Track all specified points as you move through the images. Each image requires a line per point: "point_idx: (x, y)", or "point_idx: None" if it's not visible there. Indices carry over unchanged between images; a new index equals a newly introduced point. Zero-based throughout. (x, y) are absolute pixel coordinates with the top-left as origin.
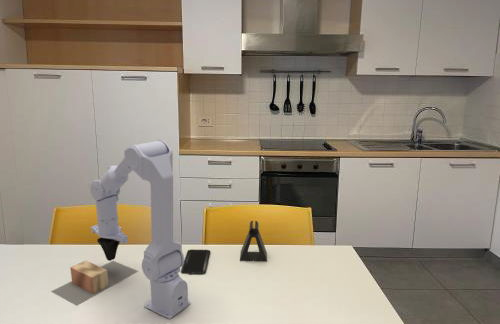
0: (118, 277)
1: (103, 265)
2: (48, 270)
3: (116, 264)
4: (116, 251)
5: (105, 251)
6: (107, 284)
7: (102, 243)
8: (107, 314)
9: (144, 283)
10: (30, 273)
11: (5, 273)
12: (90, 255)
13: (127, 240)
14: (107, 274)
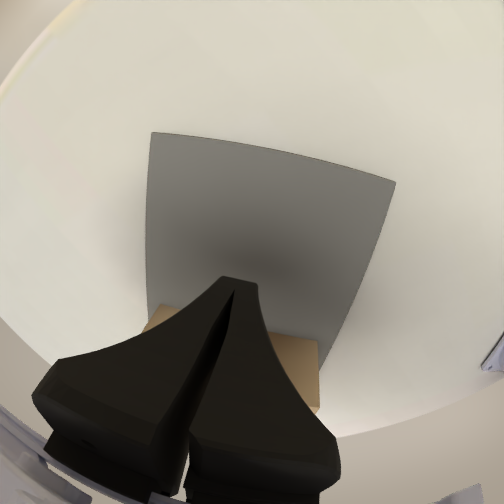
0: (321, 277)
1: (146, 203)
2: (40, 300)
3: (204, 160)
4: (260, 314)
5: (204, 392)
6: (316, 349)
7: (181, 478)
8: (393, 415)
9: (462, 268)
10: (33, 322)
11: (13, 329)
12: (34, 153)
13: (478, 501)
14: (242, 273)
